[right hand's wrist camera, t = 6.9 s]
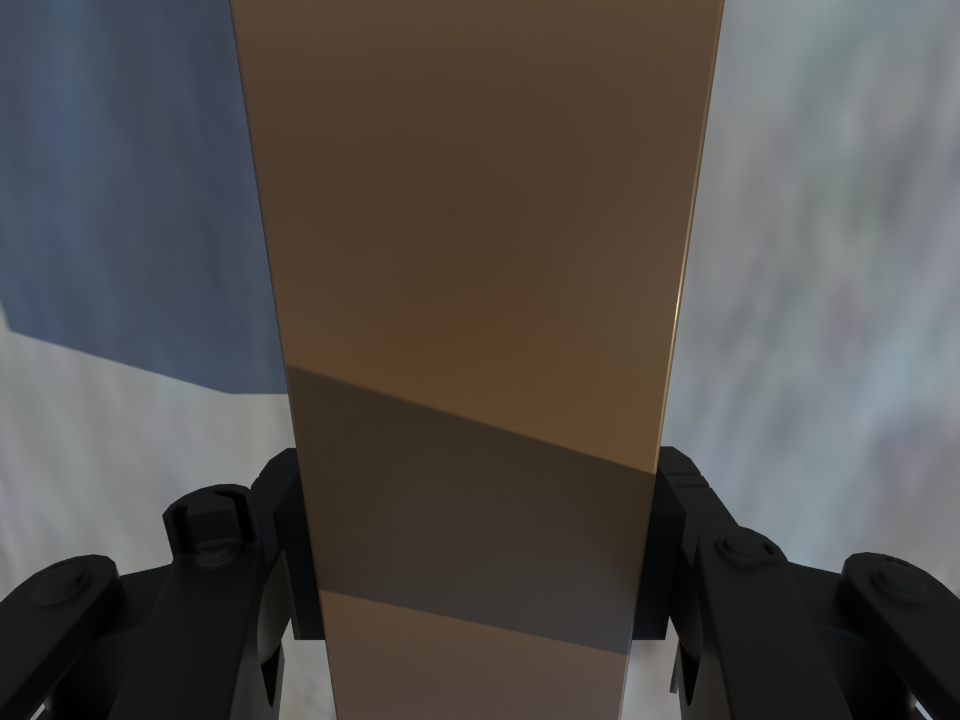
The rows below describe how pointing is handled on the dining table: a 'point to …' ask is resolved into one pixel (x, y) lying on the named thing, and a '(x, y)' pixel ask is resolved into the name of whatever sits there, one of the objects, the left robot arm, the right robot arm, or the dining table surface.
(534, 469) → the bar
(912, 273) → the dining table surface
